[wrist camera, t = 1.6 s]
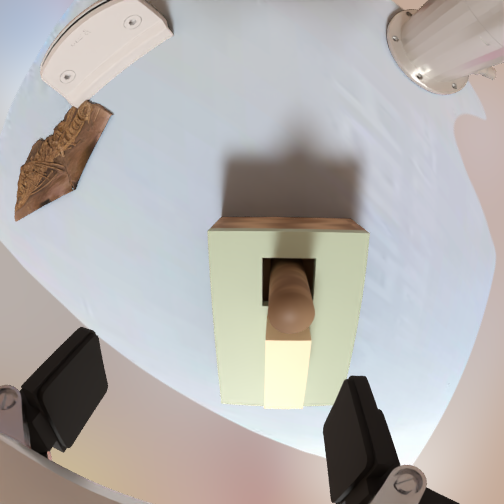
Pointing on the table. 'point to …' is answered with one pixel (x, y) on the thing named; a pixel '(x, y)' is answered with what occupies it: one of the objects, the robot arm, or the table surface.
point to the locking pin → (289, 296)
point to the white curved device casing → (101, 46)
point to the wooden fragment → (59, 158)
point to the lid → (260, 329)
